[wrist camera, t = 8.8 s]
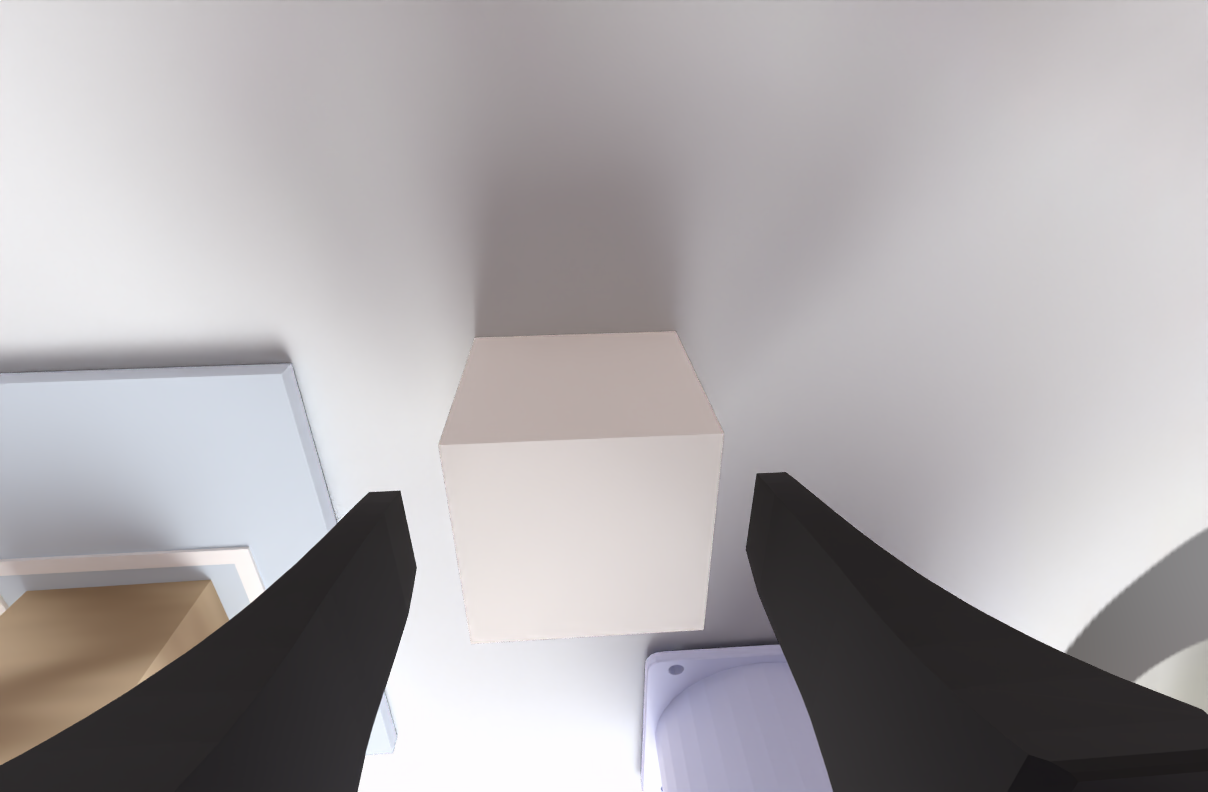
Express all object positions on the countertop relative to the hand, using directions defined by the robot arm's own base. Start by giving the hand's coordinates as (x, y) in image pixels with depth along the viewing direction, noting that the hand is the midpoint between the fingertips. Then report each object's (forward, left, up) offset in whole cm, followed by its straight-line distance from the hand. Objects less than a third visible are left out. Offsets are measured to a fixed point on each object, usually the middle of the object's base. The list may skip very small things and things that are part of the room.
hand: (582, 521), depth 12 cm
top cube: (0, 0, -4) cm, 4 cm away
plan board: (+13, +6, -4) cm, 15 cm away
